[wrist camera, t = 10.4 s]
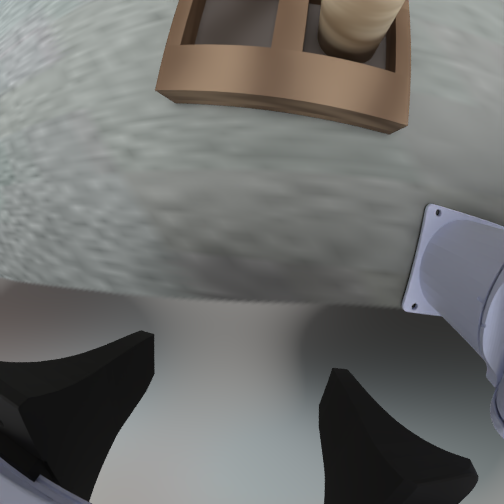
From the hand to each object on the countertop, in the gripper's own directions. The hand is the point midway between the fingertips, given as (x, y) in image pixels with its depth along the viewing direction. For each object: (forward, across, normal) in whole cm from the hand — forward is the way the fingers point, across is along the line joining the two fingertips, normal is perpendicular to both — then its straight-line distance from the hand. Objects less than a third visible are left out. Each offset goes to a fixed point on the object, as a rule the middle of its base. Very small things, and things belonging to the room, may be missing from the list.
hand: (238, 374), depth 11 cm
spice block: (+10, 0, -18) cm, 21 cm away
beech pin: (+9, -3, -18) cm, 20 cm away
